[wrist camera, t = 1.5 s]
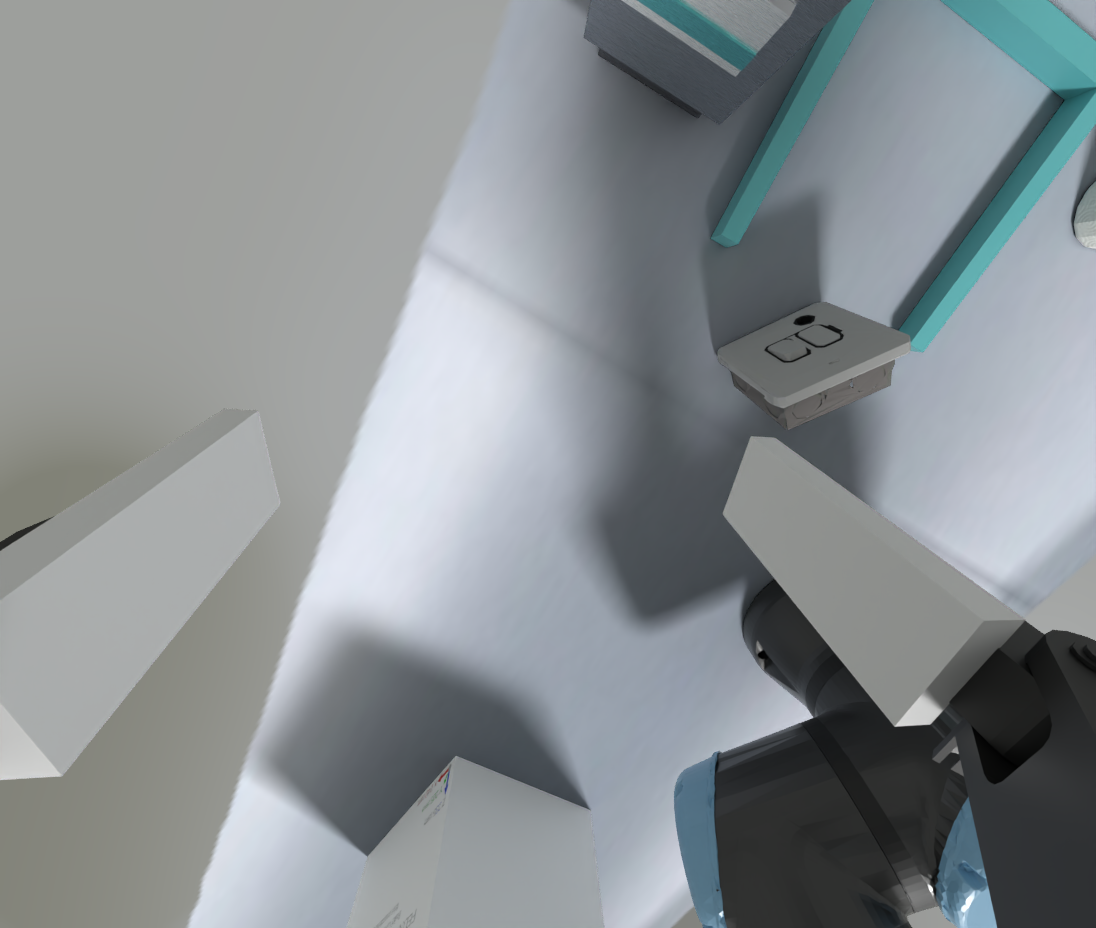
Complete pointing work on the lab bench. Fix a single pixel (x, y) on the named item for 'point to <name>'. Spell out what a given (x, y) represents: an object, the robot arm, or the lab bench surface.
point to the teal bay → (1089, 98)
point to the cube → (483, 859)
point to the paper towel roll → (1087, 219)
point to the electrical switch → (813, 362)
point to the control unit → (705, 45)
